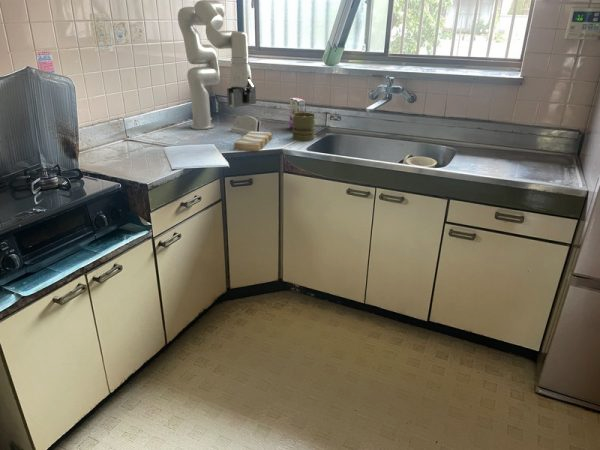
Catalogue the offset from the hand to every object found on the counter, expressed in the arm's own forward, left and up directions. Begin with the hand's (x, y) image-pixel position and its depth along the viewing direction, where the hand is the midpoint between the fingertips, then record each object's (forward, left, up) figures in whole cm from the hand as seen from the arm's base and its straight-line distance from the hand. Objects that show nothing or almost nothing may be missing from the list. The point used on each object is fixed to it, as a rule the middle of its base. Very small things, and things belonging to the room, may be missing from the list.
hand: (242, 101), depth 210 cm
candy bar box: (-35, +20, -20) cm, 44 cm away
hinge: (-21, -5, -20) cm, 29 cm away
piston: (-17, +27, -20) cm, 37 cm away
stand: (+1, +6, -20) cm, 21 cm away
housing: (0, 0, -1) cm, 1 cm away
